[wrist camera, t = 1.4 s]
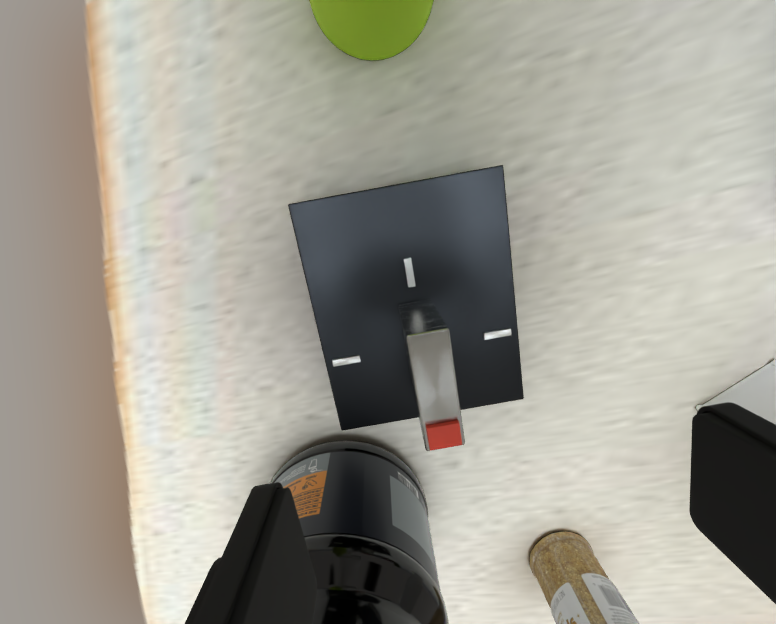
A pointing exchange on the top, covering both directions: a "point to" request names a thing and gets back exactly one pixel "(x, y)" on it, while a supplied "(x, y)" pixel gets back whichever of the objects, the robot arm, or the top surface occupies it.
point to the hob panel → (411, 289)
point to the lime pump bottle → (371, 25)
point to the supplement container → (365, 535)
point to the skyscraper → (753, 393)
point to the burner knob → (432, 374)
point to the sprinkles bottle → (576, 582)
